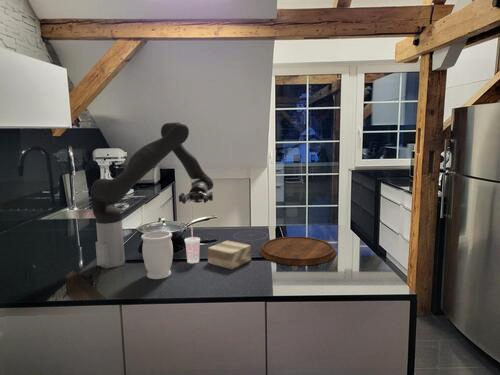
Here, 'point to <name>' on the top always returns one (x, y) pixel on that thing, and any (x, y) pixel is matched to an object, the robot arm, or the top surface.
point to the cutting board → (297, 251)
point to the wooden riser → (229, 254)
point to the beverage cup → (192, 248)
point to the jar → (157, 253)
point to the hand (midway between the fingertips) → (194, 200)
